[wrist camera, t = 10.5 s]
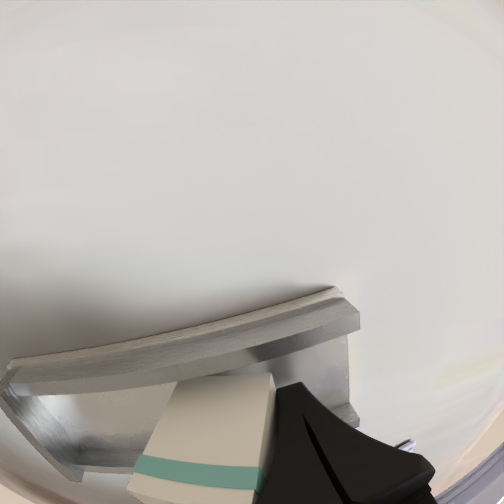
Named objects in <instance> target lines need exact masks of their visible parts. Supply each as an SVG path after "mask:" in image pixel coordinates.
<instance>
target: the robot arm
mask: <svg viewBox="0 0 504 504" xmlns="http://www.w3.org/2000/svg"><path fill="white" fill-rule="evenodd" d="M276 394H277V399H278V432H277V440H276V447H275V452H274V457H273V461H272V465H271V469H270V472H269V475H268V478H267V481H266V484H265V487H264V489H263V492H262V494H261V497H260V499H259V501H258V503H257V504H499V503H500V502H501V501H502V500H503V499H504V442H503V443H502V444H501V445H500V446H499V447H498V448H497V449H496V450H495V451H494V452H493V453H491V454H490V455H489V456H488V457H487V458H486V459H485V460H484V461H482V462H481V463H480V464H479V465H478V466H477V467H475V468H474V469H473V470H472V471H470V472H469V473H468V474H467V475H465V476H464V477H463V478H462V479H460V480H459V481H458V482H456V483H455V484H453V485H452V486H451V487H449V488H448V489H446V490H445V491H444V492H442V493H441V494H439V495H438V496H436V497H435V498H434V497H433V496H432V494H431V493H430V491H431V488H430V486H429V485H428V483H429V482H430V480H431V479H432V477H433V476H434V474H435V469H434V467H433V466H432V465H431V463H430V462H429V461H427V460H426V459H425V458H424V457H423V456H422V455H420V454H416V453H412V451H413V449H414V446H415V442H414V441H410V442H408V443H406V444H405V445H403V446H401V447H399V448H395V447H392V446H389V445H387V444H385V443H382V442H380V441H378V440H375V439H373V438H371V437H369V436H367V435H365V434H363V433H362V432H360V431H358V430H356V429H355V428H353V427H352V426H350V425H349V424H347V423H346V422H344V421H343V420H341V419H340V418H339V417H337V416H336V415H335V414H334V413H332V412H331V411H330V410H329V409H328V408H327V407H325V406H324V405H323V404H322V403H321V402H320V401H319V400H318V399H317V398H316V397H315V396H314V395H313V394H312V393H311V392H310V391H309V390H308V388H307V387H306V386H305V385H304V383H303V382H297V383H294V384H290V385H287V386H284V387H280V388H277V390H276Z"/></svg>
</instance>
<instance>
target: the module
mask: <svg viewBox="0 0 504 504" xmlns="http://www.w3.org/2000/svg"><path fill="white" fill-rule="evenodd" d="M277 432H278V399H277V394H276V388H275V385H274V381H273V377H272V373H261V374H248V375H230V376H202V377H197V378H192V379H187V380H182V381H178V383H177V385H176V387H175V389H174V391H173V393H172V395H171V397H170V399H169V401H168V403H167V405H166V407H165V409H164V411H163V413H162V415H161V417H160V419H159V421H158V423H157V425H156V427H155V429H154V431H153V433H152V435H151V437H150V439H149V441H148V443H147V445H146V447H145V450H144V452H143V454H140V455H139V457H138V459H137V461H136V463H135V465H134V467H133V469H132V471H133V474H132V476H131V478H130V480H129V482H128V485H127V487H126V490H127V491H128V492H129V493H131V494H132V495H133V496H135V497H136V498H137V499H138V500H140V501H141V502H142V503H144V504H257V503H258V501H259V499H260V497H261V494H262V492H263V489H264V487H265V484H266V481H267V478H268V475H269V472H270V469H271V465H272V461H273V457H274V452H275V447H276V440H277Z"/></svg>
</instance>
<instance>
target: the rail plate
mask: <svg viewBox="0 0 504 504" xmlns="http://www.w3.org/2000/svg"><path fill="white" fill-rule="evenodd" d="M359 329H360V312H359V311H358V310H357V309H356V308H355V307H354V306H352V305H351V304H350V303H349V302H348V301H347V300H346V299H345V298H344V293H342V292H341V291H340V290H339V289H338V288H337V287H334V288H330V289H327V290H324V291H321V292H318V293H315V294H311V295H308V296H305V297H301V298H298V299H295V300H291V301H288V302H285V303H281V304H278V305H274V306H271V307H267V308H264V309H260V310H256V311H253V312H249V313H245V314H242V315H238V316H234V317H230V318H227V319H223V320H219V321H215V322H211V323H207V324H203V325H198V326H194V327H190V328H186V329H182V330H177V331H173V332H168V333H164V334H159V335H155V336H150V337H145V338H140V339H135V340H130V341H125V342H120V343H115V344H110V345H104V346H99V347H93V348H87V349H81V350H75V351H69V352H62V353H56V354H49V355H41V356H34V357H26V358H17V359H12V360H11V361H10V363H9V364H8V365H7V366H6V367H7V368H8V370H9V371H8V372H7V374H6V375H5V376H4V378H3V379H2V380H1V381H0V407H1V409H2V410H3V411H4V413H5V414H6V415H7V416H8V418H9V419H10V420H11V421H12V423H13V424H14V425H15V426H16V427H17V429H18V430H19V431H20V432H21V433H22V434H23V436H24V437H25V438H26V439H27V440H28V441H29V442H30V443H31V444H32V445H33V446H34V448H35V449H36V450H37V451H38V452H39V453H40V454H41V455H42V456H43V457H44V458H45V459H46V460H47V461H48V462H49V463H50V464H52V465H53V466H54V467H55V468H56V469H57V470H58V471H59V472H60V473H61V474H62V475H64V476H65V477H66V478H67V479H68V480H69V481H74V482H80V483H81V481H82V477H83V474H84V471H87V472H98V473H116V474H133V471H132V469H133V467H134V465H135V463H136V461H137V459H138V457H139V455H140V454H143V452H144V450H145V447H146V445H147V443H148V441H149V439H150V437H151V435H152V433H153V431H154V429H155V427H156V425H157V423H158V421H159V419H160V417H161V415H162V413H163V411H164V409H165V407H166V405H167V403H168V401H169V399H170V397H171V395H172V393H173V391H174V389H175V387H176V385H177V383H178V381H182V380H187V379H192V378H197V377H202V376H230V375H248V374H261V373H272V377H273V381H274V385H275V388H276V390H277V388H280V387H284V386H287V385H290V384H294V383H297V382H303V383H304V385H305V386H306V387H307V388H308V390H309V391H310V392H311V393H312V394H313V395H314V396H315V397H316V398H317V399H318V400H319V401H320V402H321V403H322V404H323V405H324V406H325V407H327V408H328V409H329V410H330V411H331V412H332V413H334V414H335V415H336V416H337V417H339V418H340V419H341V420H343V421H344V422H346V423H347V424H349V425H350V426H352V427H353V428H357V427H359V421H360V418H359V417H358V415H357V413H356V412H355V410H354V409H353V407H352V405H351V404H350V402H349V361H348V342H347V334H349V333H352V332H354V331H357V330H359Z"/></svg>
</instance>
